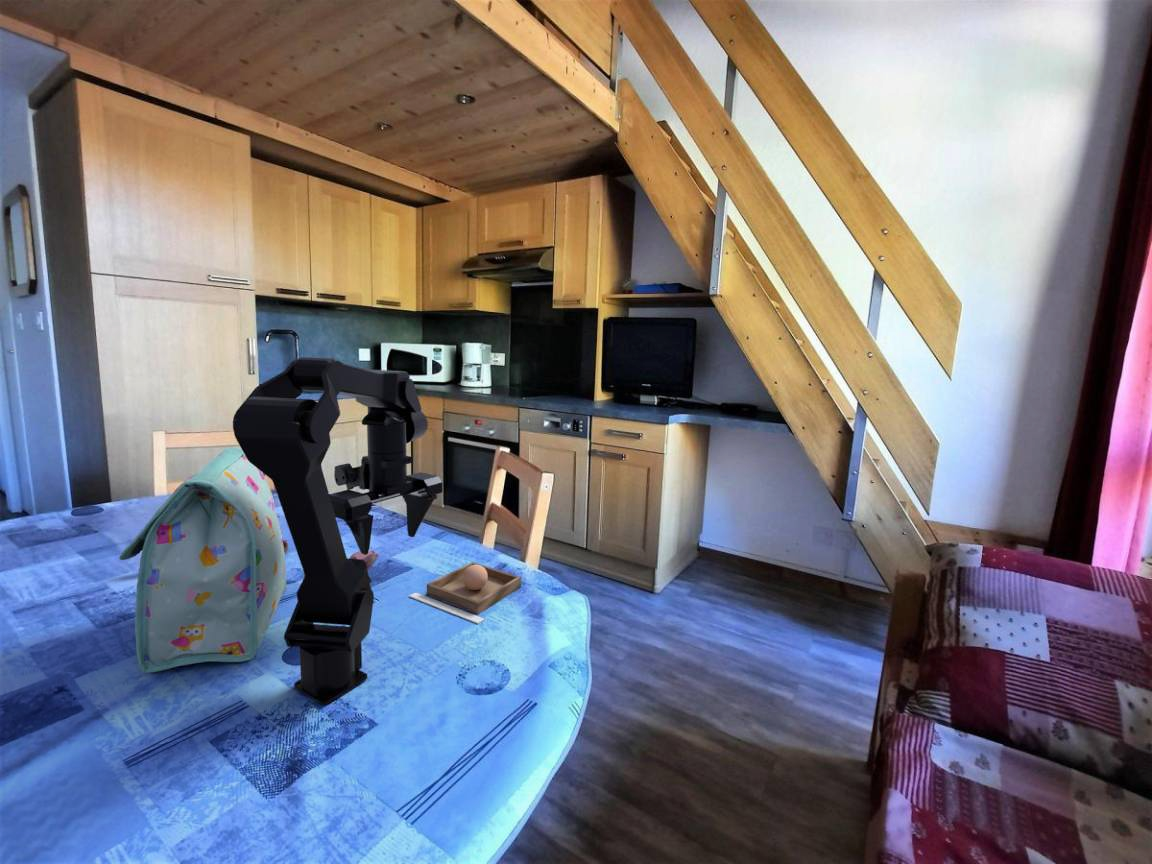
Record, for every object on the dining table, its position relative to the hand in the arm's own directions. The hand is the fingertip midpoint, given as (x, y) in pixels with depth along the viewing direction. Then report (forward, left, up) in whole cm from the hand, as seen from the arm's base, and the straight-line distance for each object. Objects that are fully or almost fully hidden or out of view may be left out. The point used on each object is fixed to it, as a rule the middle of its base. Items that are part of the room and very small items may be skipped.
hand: (389, 544), depth 82 cm
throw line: (+6, -6, -12) cm, 15 cm away
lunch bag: (-17, +17, -12) cm, 27 cm away
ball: (+14, -6, -12) cm, 19 cm away
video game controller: (+4, +15, -12) cm, 20 cm away
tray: (+14, -6, -12) cm, 19 cm away
